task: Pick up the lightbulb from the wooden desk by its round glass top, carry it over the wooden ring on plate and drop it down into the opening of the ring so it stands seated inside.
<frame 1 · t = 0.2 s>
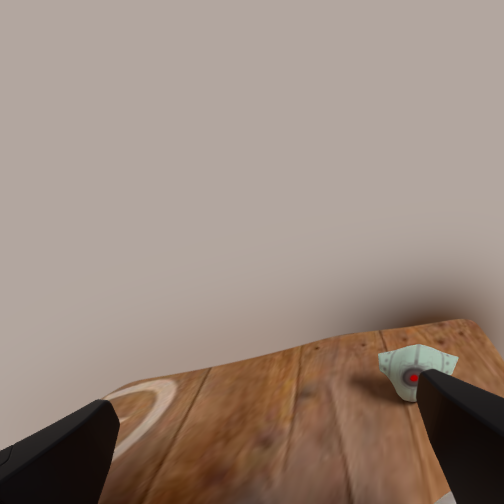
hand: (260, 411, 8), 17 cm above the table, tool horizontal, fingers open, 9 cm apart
robot head: (411, 403, 25), on the table
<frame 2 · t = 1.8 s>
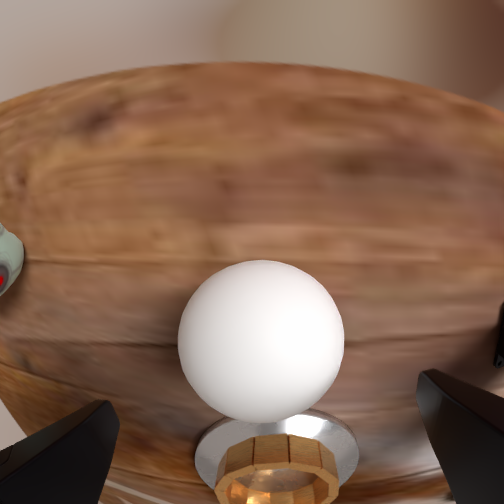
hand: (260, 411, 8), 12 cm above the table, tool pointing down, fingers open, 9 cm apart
robot head: (25, 251, 20), on the table
lightbulb: (263, 276, 19), on the table
wooden ring on plate: (277, 461, 23), on the table
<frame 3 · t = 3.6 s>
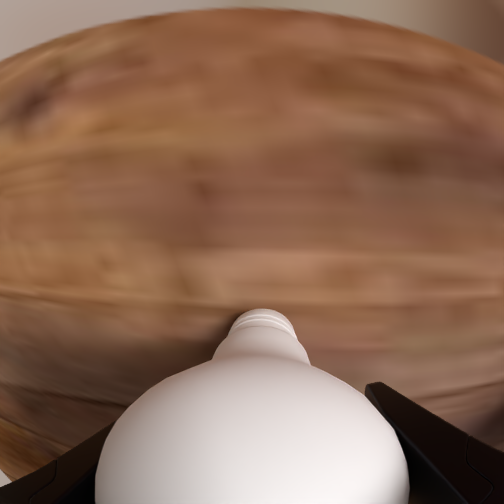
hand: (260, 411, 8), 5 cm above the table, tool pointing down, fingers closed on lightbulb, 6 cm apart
lightbulb: (262, 326, 13), on the table, touching gripper
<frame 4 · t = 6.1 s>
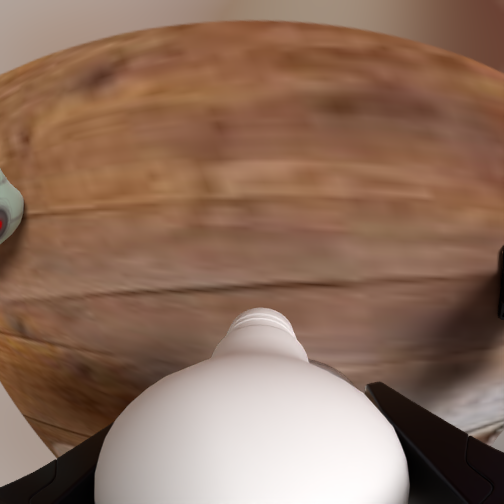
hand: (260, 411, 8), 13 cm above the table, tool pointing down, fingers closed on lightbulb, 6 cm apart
robot head: (25, 207, 20), on the table
lightbulb: (261, 326, 13), point 8 cm above the table, touching gripper
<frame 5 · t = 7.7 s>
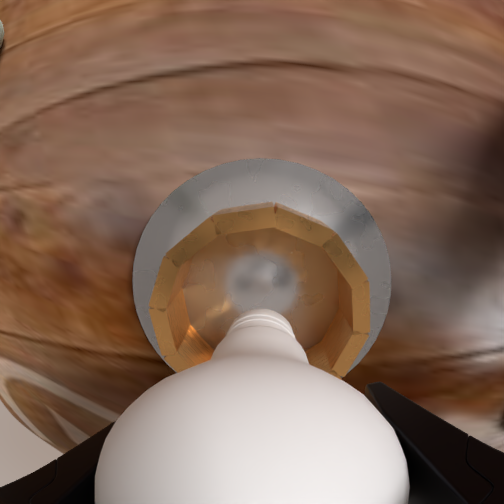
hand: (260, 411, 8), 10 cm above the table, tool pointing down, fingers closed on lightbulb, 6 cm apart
robot head: (3, 47, 14), on the table
lightbulb: (261, 326, 13), point 4 cm above the table, touching gripper
wooden ring on plate: (261, 292, 17), on the table
when the fingers open (6 cm above the table, at t = 9.1 s): lightbulb stays where it is, resting on wooden ring on plate.
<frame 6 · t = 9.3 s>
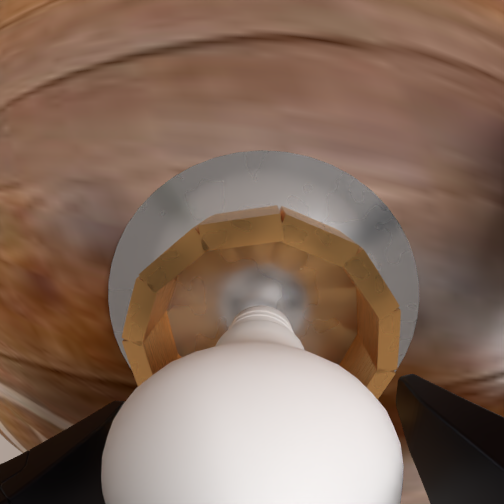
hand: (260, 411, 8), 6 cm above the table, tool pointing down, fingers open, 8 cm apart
lightbulb: (261, 323, 13), point 1 cm above the table, touching wooden ring on plate
wooden ring on plate: (263, 315, 14), on the table
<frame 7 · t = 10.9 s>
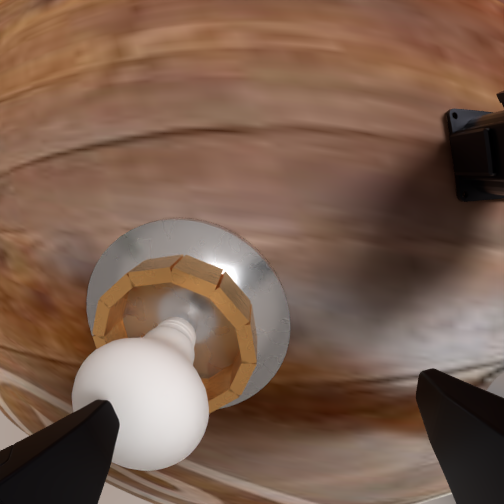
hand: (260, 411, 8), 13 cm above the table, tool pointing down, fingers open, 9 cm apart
lightbulb: (180, 327, 20), point 1 cm above the table, touching wooden ring on plate
wooden ring on plate: (184, 322, 21), on the table
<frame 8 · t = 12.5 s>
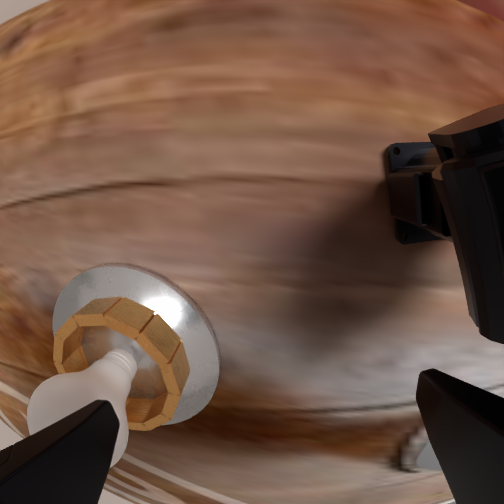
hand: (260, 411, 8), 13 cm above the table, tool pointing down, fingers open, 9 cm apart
lightbulb: (126, 356, 22), point 1 cm above the table, touching wooden ring on plate
wooden ring on plate: (131, 350, 22), on the table
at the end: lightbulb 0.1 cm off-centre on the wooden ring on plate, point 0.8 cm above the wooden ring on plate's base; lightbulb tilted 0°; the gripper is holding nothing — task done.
